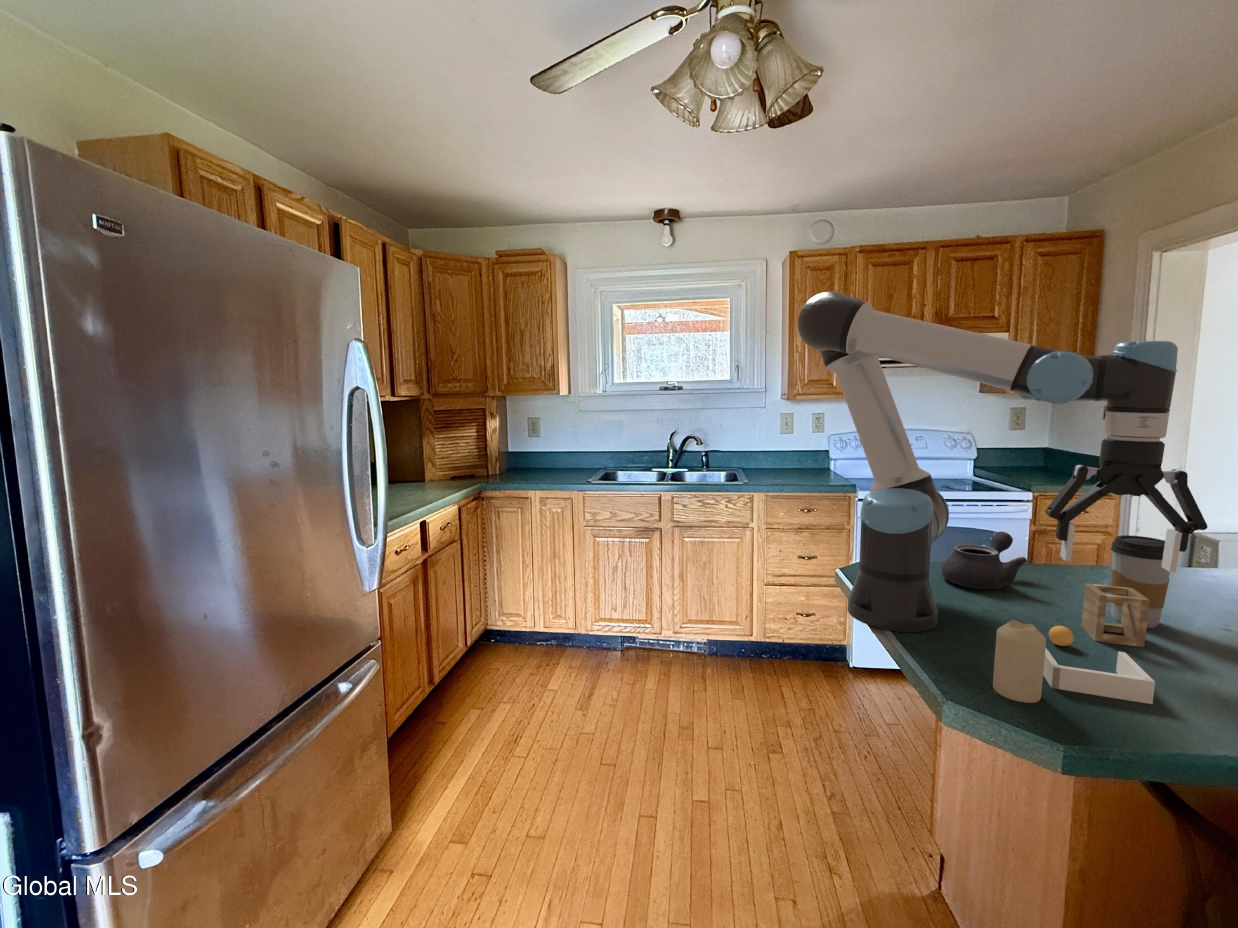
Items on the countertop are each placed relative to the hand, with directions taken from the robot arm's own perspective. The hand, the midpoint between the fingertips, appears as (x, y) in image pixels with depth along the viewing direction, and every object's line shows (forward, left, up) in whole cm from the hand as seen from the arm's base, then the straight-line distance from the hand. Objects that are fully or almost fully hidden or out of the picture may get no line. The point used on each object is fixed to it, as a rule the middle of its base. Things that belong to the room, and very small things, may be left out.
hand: (1115, 564), depth 92 cm
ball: (-9, -7, -13) cm, 17 cm away
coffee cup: (+7, +9, -13) cm, 17 cm away
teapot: (-13, +24, -13) cm, 30 cm away
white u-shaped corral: (-9, -19, -13) cm, 24 cm away
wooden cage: (0, 0, -13) cm, 13 cm away
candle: (-19, -27, -13) cm, 35 cm away
